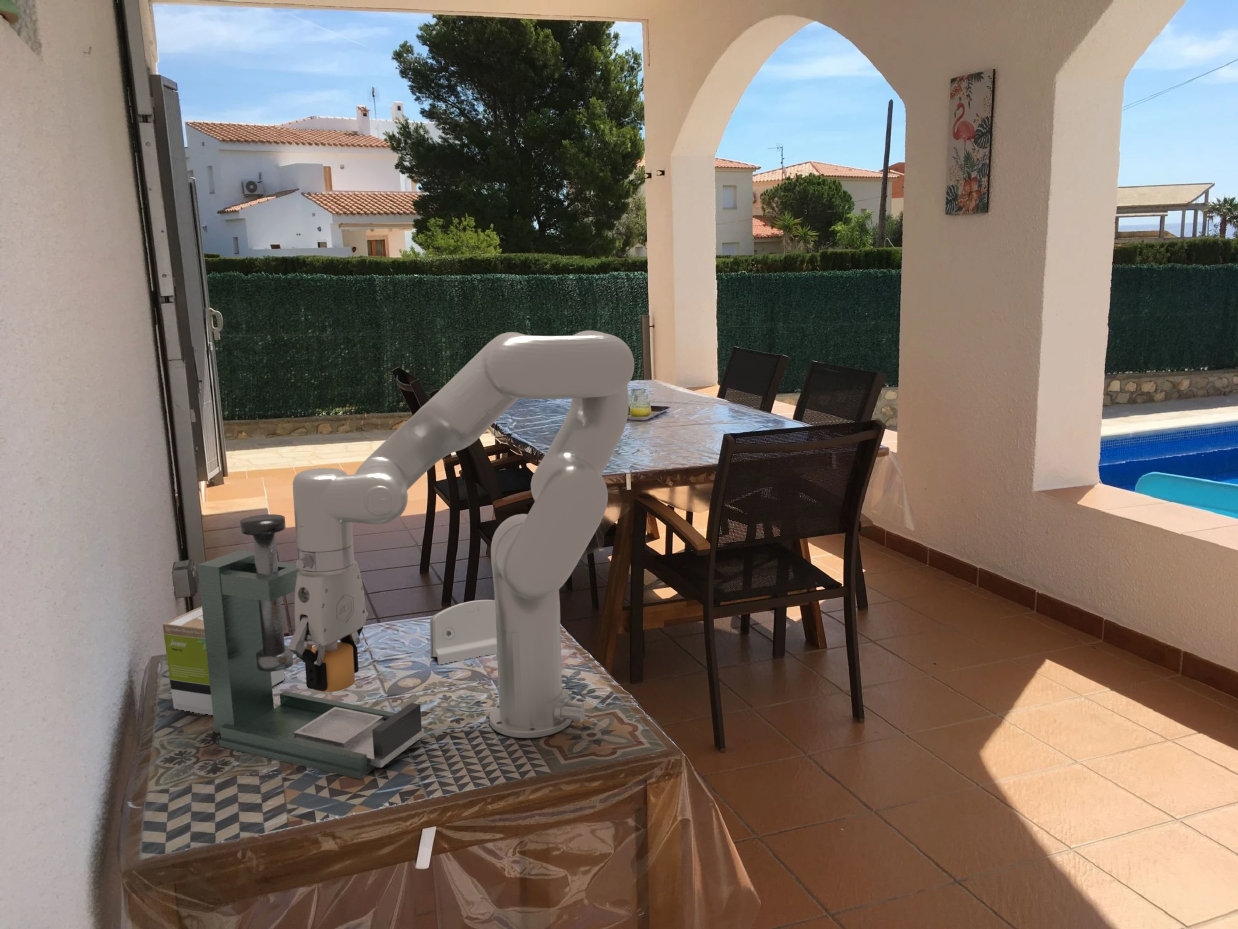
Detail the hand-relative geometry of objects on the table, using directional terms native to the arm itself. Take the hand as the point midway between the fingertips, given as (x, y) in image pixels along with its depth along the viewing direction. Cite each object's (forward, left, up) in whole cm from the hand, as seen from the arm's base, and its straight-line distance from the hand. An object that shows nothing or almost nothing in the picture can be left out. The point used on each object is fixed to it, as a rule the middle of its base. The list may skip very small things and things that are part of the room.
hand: (333, 678), depth 135 cm
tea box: (+28, -7, -10) cm, 30 cm away
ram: (+11, 0, 0) cm, 11 cm away
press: (+5, 0, -10) cm, 11 cm away
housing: (0, 0, -1) cm, 1 cm away
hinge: (+1, -39, -10) cm, 40 cm away
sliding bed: (-4, 0, -9) cm, 10 cm away
